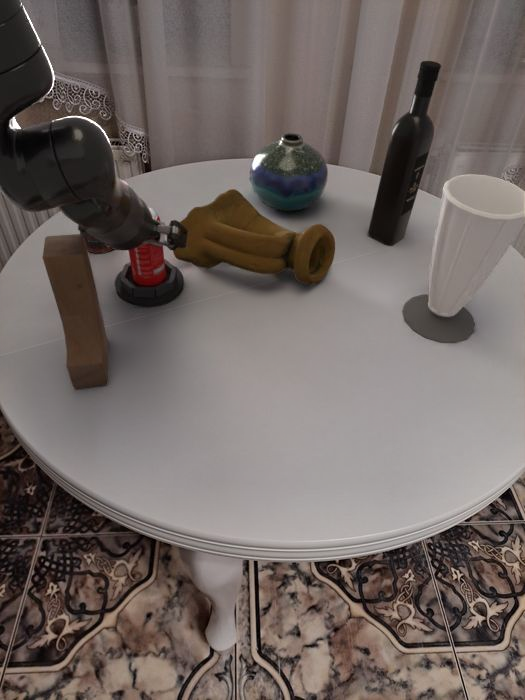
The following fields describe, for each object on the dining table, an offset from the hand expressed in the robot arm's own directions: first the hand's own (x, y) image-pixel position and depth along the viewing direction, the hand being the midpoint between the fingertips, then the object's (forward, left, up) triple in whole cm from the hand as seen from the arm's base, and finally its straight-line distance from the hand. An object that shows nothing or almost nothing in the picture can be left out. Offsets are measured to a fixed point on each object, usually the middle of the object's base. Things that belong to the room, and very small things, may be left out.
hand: (146, 241), depth 79 cm
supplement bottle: (-1, +14, -8) cm, 16 cm away
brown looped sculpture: (+15, -8, -8) cm, 19 cm away
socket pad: (-1, -1, -8) cm, 8 cm away
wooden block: (-17, -10, -8) cm, 21 cm away
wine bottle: (+42, -17, -8) cm, 46 cm away
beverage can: (-1, -1, -7) cm, 7 cm away
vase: (+36, +4, -8) cm, 37 cm away
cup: (+29, -37, -8) cm, 48 cm away
